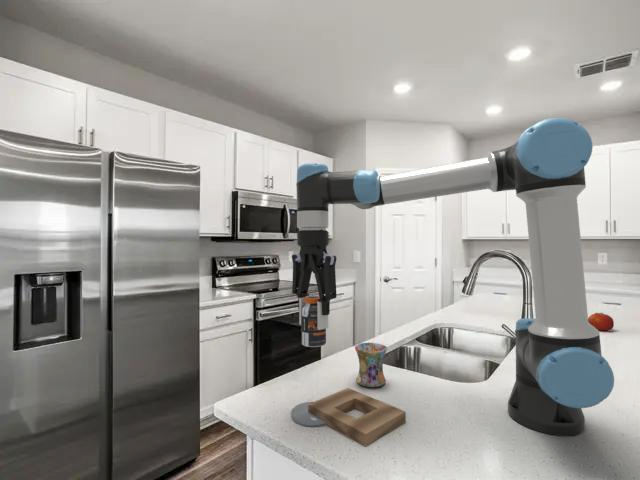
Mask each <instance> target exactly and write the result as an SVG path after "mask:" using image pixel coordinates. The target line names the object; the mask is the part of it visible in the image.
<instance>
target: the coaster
mask: <svg viewBox="0 0 640 480" xmlns="http://www.w3.org/2000/svg"><path fill="white" fill-rule="evenodd" d="M313 402H314V401H306V402H303V403H302V402H301V403H299V404H297V405H295V406H294V407H293V408H292V409H291V411H290V417H291V420H292V421H293V422H295V424H297V425H300V426H302V427H309V428H310V427H312V428H315V427H316V428H317V427H318V428H319V427H323V426H328V425H327V422H326V421H324V420H322V419H321V418H319V417H317V416H315V415H313V414H311V413H309V412H308V404H310V403H313Z"/></svg>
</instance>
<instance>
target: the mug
mask: <svg viewBox="0 0 640 480" xmlns="http://www.w3.org/2000/svg"><path fill="white" fill-rule="evenodd" d="M354 349H355V352H356V355H357V359H358V363H359V366H358V367H359V370H358V374H357V377H356V382H357V384H359V385H360V386H363V387H366V388H379V387H382V386H384V385H385V384H386V381H387V380H386V378H385V377H386V376H385V375H384V371H383V369H384V367H383V366H384V364H383V363H384V358H385V354H386V353H387V350H388V347H387V346H386V345H384V344H382V343H379V342H360V343H358V344H355V346H354Z"/></svg>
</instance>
